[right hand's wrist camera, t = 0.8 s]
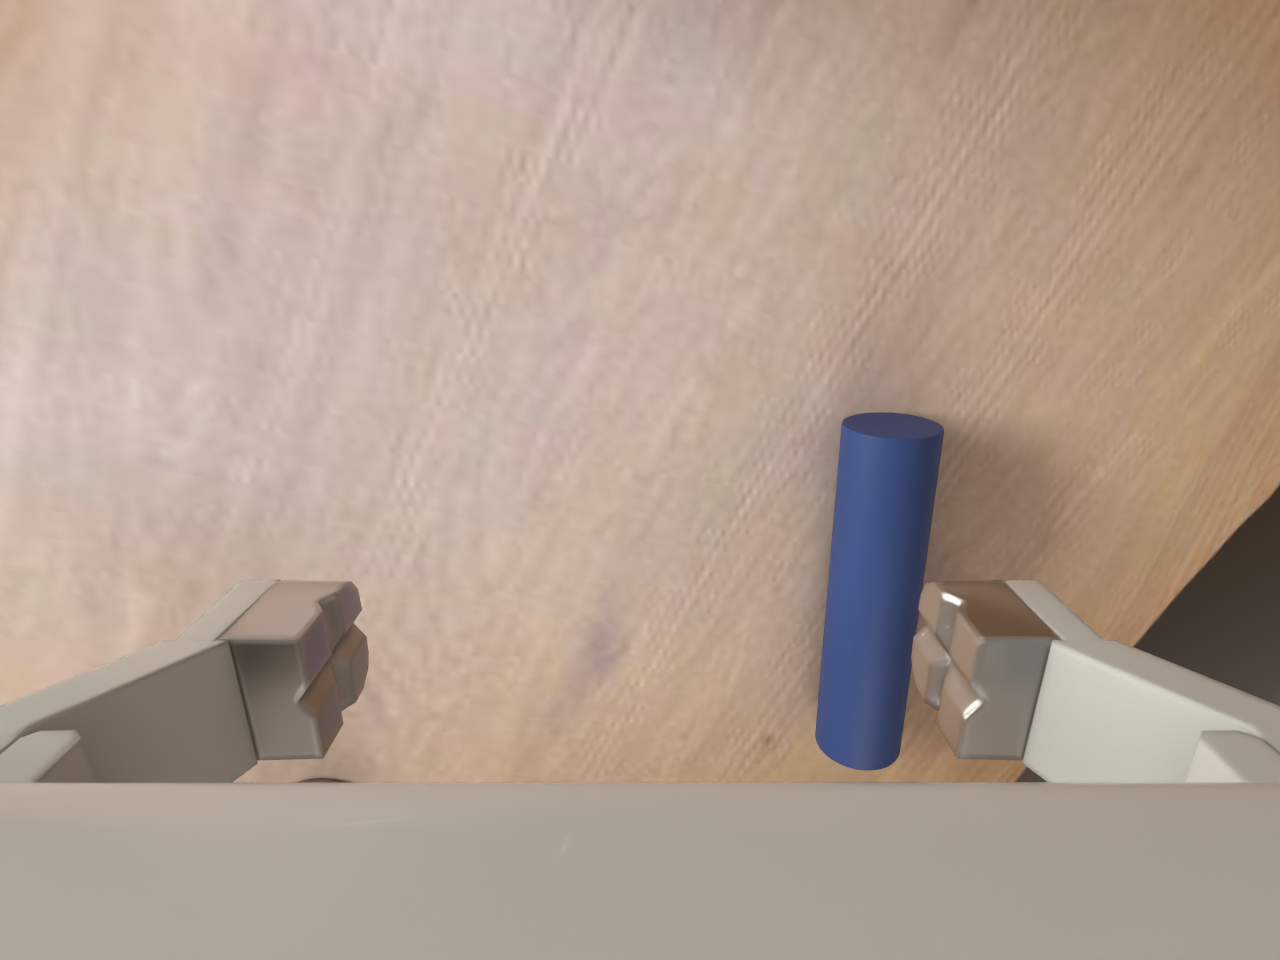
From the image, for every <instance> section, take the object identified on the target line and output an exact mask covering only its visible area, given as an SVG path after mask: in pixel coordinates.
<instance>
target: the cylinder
mask: <svg viewBox="0 0 1280 960" xmlns="http://www.w3.org/2000/svg"><path fill="white" fill-rule="evenodd" d="M943 434H944V429H943V427H942V426H941V425H940V424H938V423H936V422H934V421H932V420H929V419H925V418H922V417H917V416H912V415H906V414H896V413H865V414H858V415H854V416H850V417H848V418H846V419H844V420H843V422H842V428H841V440H840V452H839V463H838V475H837V487H836V498H835V510H834V522H833V534H832V545H831V557H830V569H829V581H828V592H827V604H826V616H825V627H824V639H823V651H822V663H821V674H820V686H819V698H818V709H817V721H816V733H815V735H816V741H817V743H818V745H819V747H820V749H821V750H822V751H823V752H824V753H825V754H826V755H827V756H828V757H829V758H831V759H832V760H834V761H835V762H837V763H839V764H841V765H844V766H846V767H849V768H853V769H858V770H878V769H882V768H885V767H887V766H889V765H891V764H892V763H893V762H895V760H896V759H897V758H898V756H899V753H900V747H901V739H902V732H903V725H904V717H905V710H906V703H907V696H908V688H909V681H910V674H911V667H912V660H911V654H912V646H913V638H914V636H915V635H916V630H917V623H918V616H919V610H918V607H919V601H920V595H921V592H922V587H923V579H924V572H925V565H926V558H927V550H928V543H929V536H930V529H931V521H932V514H933V507H934V499H935V492H936V485H937V478H938V470H939V463H940V456H941V449H942V441H943Z"/></svg>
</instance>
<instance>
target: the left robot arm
mask: <svg viewBox="0 0 1280 960" xmlns="http://www.w3.org/2000/svg"><path fill="white" fill-rule="evenodd" d="M297 783H344V782H341V781H337V780H332V779H308V780H304V781H300V782H297Z"/></svg>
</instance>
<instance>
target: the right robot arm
mask: <svg viewBox="0 0 1280 960" xmlns="http://www.w3.org/2000/svg"><path fill="white" fill-rule="evenodd" d="M361 610H362V607H361V602H360V597H359V592H358V589H357V587H356V586H355V585H354V584H353V583H352V582H343V581H289V580H284V581H281V580H249V581H240V582H239V583H238V584H237V585H236V586H235V587H234V588H233V589H231V590H230V591H229V592H228V593H227V594H226V595H225V596H224V597H223V598H222V599H221V600H219V601H218V602H217V603H216V604H215V605H214V606H213V607H212V608H211V609H210V610H208V611H207V612H206V613H205V614H204V615H203V616H202V617H201V618H200V619H199V620H198V621H196V622H195V623H194V624H193V625H192V626H191V627H190V628H189V629H188V630H187V631H186V632H184V633H183V634H182V635H181V636H180V637H179V638H178V639H177V640H164V641H161V642H159V643H156V644H154V645H151V646H149V647H146V648H144V649H141V650H139V651H136V652H134V653H131V654H129V655H126V656H124V657H121V658H119V659H117V660H114V661H112V662H109V663H107V664H104V665H102V666H99V667H97V668H94V669H92V670H89V671H87V672H84V673H82V674H79V675H77V676H74V677H72V678H69V679H67V680H64V681H62V682H59V683H57V684H54V685H52V686H49V687H47V688H44V689H42V690H40V691H37V692H35V693H32V694H30V695H27V696H25V697H22V698H20V699H17V700H15V701H12V702H10V703H7V704H5V705H2V706H0V960H1280V706H1277V705H1275V704H1272V703H1270V702H1267V701H1265V700H1262V699H1260V698H1258V697H1255V696H1253V695H1250V694H1248V693H1245V692H1243V691H1240V690H1238V689H1235V688H1233V687H1230V686H1228V685H1225V684H1223V683H1220V682H1218V681H1215V680H1213V679H1210V678H1208V677H1205V676H1203V675H1201V674H1198V673H1196V672H1193V671H1191V670H1188V669H1186V668H1183V667H1181V666H1178V665H1176V664H1173V663H1171V662H1168V661H1166V660H1163V659H1161V658H1158V657H1156V656H1153V655H1151V654H1148V653H1146V652H1144V651H1141V650H1138V649H1136V648H1134V647H1131V646H1129V645H1126V644H1124V643H1121V642H1119V641H1116V640H1103V639H1102V638H1101V637H1100V636H1099V635H1098V634H1097V633H1096V632H1095V631H1093V630H1092V629H1091V628H1090V627H1089V626H1088V625H1087V624H1086V623H1085V622H1084V621H1083V620H1081V619H1080V618H1079V617H1078V616H1077V615H1076V614H1075V613H1074V612H1073V611H1072V610H1071V609H1069V608H1068V607H1067V606H1066V605H1065V604H1064V603H1063V602H1062V601H1061V600H1060V599H1059V598H1057V597H1056V596H1055V595H1054V594H1053V593H1052V592H1051V591H1050V590H1049V589H1048V588H1047V587H1045V586H1044V585H1043V584H1042V583H1041V582H1038V581H1035V580H1032V579H1030V580H1008V581H1002V580H990V581H948V582H930V583H925V586H924V588H923V590H922V592H921V595H920V601H919V607H918V610H919V612H920V613H921V615H922V616H923V618H924V620H925V621H926V624H925V625H924V626H923V627H922V628H921V629H920V630H919V632H918V633H917V634H916V635H915V636H914V638H913V646H912V654H911V660H912V671H913V678H914V681H915V684H916V687H917V690H918V692H919V694H920V695H921V697H922V699H923V701H924V702H925V703H927V704H928V705H930V706H931V707H933V708H935V709H936V710H938V711H939V713H938V719H937V725H938V727H939V729H940V730H941V732H942V734H943V735H944V737H945V739H946V740H947V742H948V744H949V746H950V747H951V749H952V751H953V752H954V754H955V756H956V757H957V759H995V760H1023V762H1022V763H1023V764H1024V765H1026V766H1027V767H1028V768H1030V769H1031V770H1032V771H1034V772H1035V773H1036V774H1038V775H1039V776H1040V777H1042V778H1043V779H1044V780H1046V781H1047V782H1048V783H232V782H233V781H234V780H236V779H237V778H238V777H240V776H241V775H243V774H244V773H245V772H247V771H248V770H249V769H251V768H252V767H253V766H255V765H256V764H257V760H284V759H320V758H324V756H325V754H326V753H327V751H328V749H329V747H330V746H331V744H332V742H333V741H334V739H335V737H336V735H337V734H338V732H339V730H340V729H341V727H342V725H343V719H342V713H341V711H342V710H344V709H345V708H347V707H349V706H350V705H352V704H353V703H355V702H356V701H357V699H358V697H359V695H360V694H361V692H362V690H363V688H364V684H365V680H366V676H367V672H368V653H369V652H368V645H367V638H366V636H365V635H364V634H363V633H362V632H361V630H360V629H359V628H358V627H357V626H356V625H355V624H354V621H355V620H356V618H357V616H358V615H359V613H360V612H361Z"/></svg>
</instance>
